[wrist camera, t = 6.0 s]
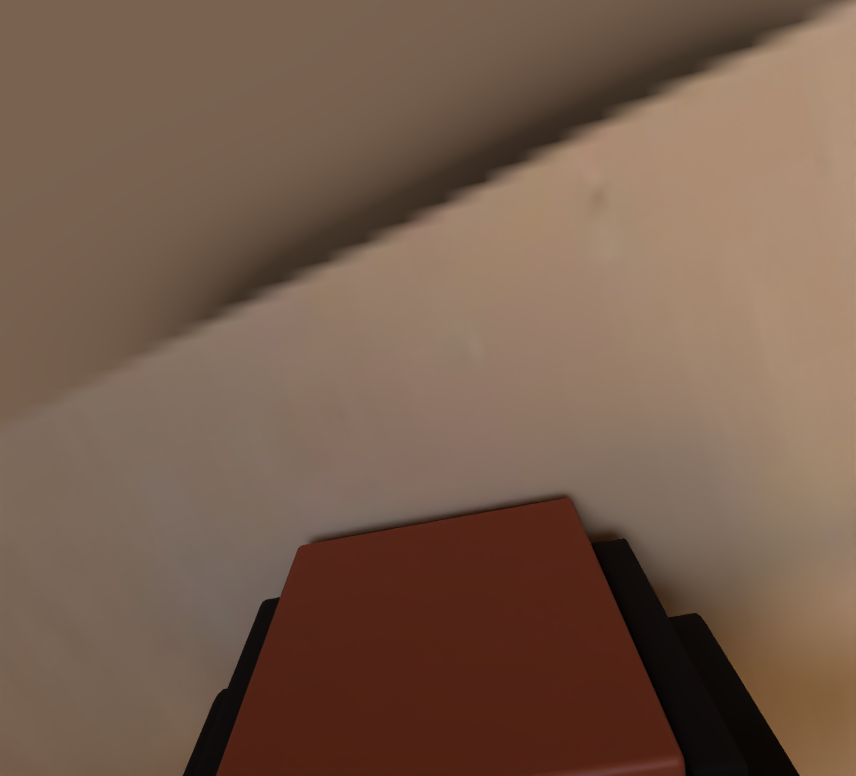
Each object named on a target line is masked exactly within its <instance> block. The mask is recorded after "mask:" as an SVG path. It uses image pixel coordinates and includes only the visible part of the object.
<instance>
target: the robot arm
mask: <svg viewBox="0 0 856 776" xmlns="http://www.w3.org/2000/svg"><path fill="white" fill-rule="evenodd" d="M591 546H592V548H593V550H594V553H595V555H596V557H597V559H598V562H599V564H600V566H601V569H602V571H603V573H604V576H605V578H606V580H607V582H608V585H609V587H610V589H611V592H612V594H613V596H614V598H615V601H616V603H617V605H618V608H619V610H620V612H621V615H622V617H623V619H624V621H625V624H626V626H627V628H628V631H629V633H630V635H631V637H632V640H633V642H634V644H635V647H636V649H637V651H638V654H639V656H640V658H641V660H642V663H643V665H644V667H645V670H646V672H647V674H648V676H649V679H650V681H651V683H652V686H653V688H654V690H655V693H656V695H657V697H658V699H659V702H660V704H661V706H662V709H663V711H664V713H665V716H666V718H667V720H668V722H669V725H670V727H671V729H672V732H673V734H674V736H675V738H676V741H677V743H678V745H679V748H680V750H681V752H682V755H683V757H684V763H685V775H686V776H800V775H799V774H798V772H797V771H796V769H795V767H794V766H793V764H792V762H791V761H790V759H789V758H788V756H787V754H786V753H785V751H784V749H783V748H782V746H781V745H780V743H779V741H778V740H777V738H776V736H775V735H774V733H773V732H772V730H771V728H770V727H769V725H768V723H767V722H766V720H765V719H764V717H763V715H762V714H761V712H760V710H759V709H758V707H757V706H756V704H755V702H754V701H753V699H752V697H751V696H750V694H749V693H748V691H747V689H746V688H745V686H744V684H743V683H742V681H741V680H740V678H739V676H738V675H737V673H736V671H735V670H734V668H733V667H732V665H731V663H730V662H729V660H728V658H727V657H726V655H725V654H724V652H723V650H722V649H721V647H720V645H719V644H718V642H717V641H716V639H715V637H714V636H713V634H712V632H711V631H710V629H709V628H708V626H707V624H706V623H705V622H704V620H703V619H702V617H701V616H700V615H698V614H697V613H693V614H687V615H680V616H674V617H668V616H667V614H666V613H665V611H664V609H663V607H662V605H661V603H660V601H659V600H658V598H657V596H656V594H655V592H654V590H653V588H652V586H651V585H650V583H649V581H648V579H647V577H646V575H645V573H644V572H643V570H642V568H641V566H640V564H639V562H638V560H637V559H636V557H635V555H634V553H633V551H632V549H631V547H630V546H629V544H628V542H627V541H626V539H624V538H622V539H616V540H610V541H604V542H598V543H592V544H591ZM279 600H280V597H279V598H273V599H268V600H265V601H263V602H262V604H261V606H260V608H259V611H258V613H257V616H256V618H255V621H254V623H253V626H252V628H251V631H250V633H249V636H248V639H247V641H246V644H245V646H244V649H243V651H242V654H241V656H240V659H239V661H238V664H237V666H236V669H235V671H234V674H233V676H232V679H231V681H230V684H229V686H228V689H223V690H222V691H221V692H220V693H219V694H218V695H217V697H216V699H215V700H214V702H213V704H212V707H211V709H210V712H209V714H208V716H207V719H206V721H205V724H204V726H203V728H202V731H201V733H200V736H199V738H198V740H197V743H196V745H195V748H194V750H193V752H192V755H191V757H190V760H189V762H188V764H187V767H186V769H185V772H184V774H183V776H216V774H217V771H218V769H219V766H220V763H221V760H222V758H223V755H224V752H225V749H226V746H227V744H228V741H229V738H230V735H231V733H232V730H233V727H234V724H235V722H236V719H237V716H238V713H239V710H240V708H241V705H242V702H243V699H244V697H245V694H246V691H247V688H248V685H249V683H250V680H251V677H252V674H253V672H254V669H255V666H256V663H257V661H258V658H259V655H260V652H261V649H262V647H263V644H264V641H265V638H266V636H267V633H268V630H269V627H270V625H271V622H272V619H273V616H274V613H275V611H276V608H277V605H278V602H279Z"/></svg>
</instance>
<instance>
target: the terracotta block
mask: <svg viewBox="0 0 856 776" xmlns="http://www.w3.org/2000/svg"><path fill="white" fill-rule="evenodd" d="M216 776H686V775H685V763H684V757H683V755H682V752H681V750H680V748H679V745H678V743H677V741H676V738H675V736H674V734H673V732H672V729H671V727H670V725H669V722H668V720H667V718H666V716H665V713H664V711H663V709H662V706H661V704H660V702H659V699H658V697H657V695H656V693H655V690H654V688H653V686H652V683H651V681H650V679H649V676H648V674H647V672H646V670H645V667H644V665H643V663H642V660H641V658H640V656H639V654H638V651H637V649H636V647H635V644H634V642H633V640H632V637H631V635H630V633H629V631H628V628H627V626H626V624H625V621H624V619H623V617H622V615H621V612H620V610H619V608H618V605H617V603H616V601H615V598H614V596H613V594H612V592H611V589H610V587H609V585H608V582H607V580H606V578H605V576H604V573H603V571H602V569H601V566H600V564H599V562H598V559H597V557H596V555H595V553H594V550H593V548H592V546H591V543H590V541H589V539H588V537H587V534H586V532H585V530H584V527H583V525H582V523H581V520H580V518H579V516H578V514H577V511H576V509H575V507H574V504H573V502H572V501H571V499H569V498H564V499H558V500H552V501H547V502H541V503H536V504H530V505H524V506H519V507H513V508H508V509H502V510H496V511H491V512H485V513H480V514H474V515H469V516H463V517H457V518H452V519H446V520H441V521H435V522H429V523H424V524H418V525H413V526H407V527H401V528H396V529H390V530H385V531H379V532H373V533H368V534H362V535H357V536H351V537H345V538H340V539H334V540H329V541H323V542H317V543H312V544H306V545H302V546H300V547H299V548H298V550H297V552H296V555H295V558H294V561H293V564H292V566H291V569H290V572H289V575H288V577H287V580H286V583H285V586H284V588H283V591H282V594H281V597H280V600H279V602H278V605H277V608H276V611H275V613H274V616H273V619H272V622H271V625H270V627H269V630H268V633H267V636H266V638H265V641H264V644H263V647H262V649H261V652H260V655H259V658H258V661H257V663H256V666H255V669H254V672H253V674H252V677H251V680H250V683H249V685H248V688H247V691H246V694H245V697H244V699H243V702H242V705H241V708H240V710H239V713H238V716H237V719H236V722H235V724H234V727H233V730H232V733H231V735H230V738H229V741H228V744H227V746H226V749H225V752H224V755H223V758H222V760H221V763H220V766H219V769H218V771H217V774H216Z"/></svg>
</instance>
